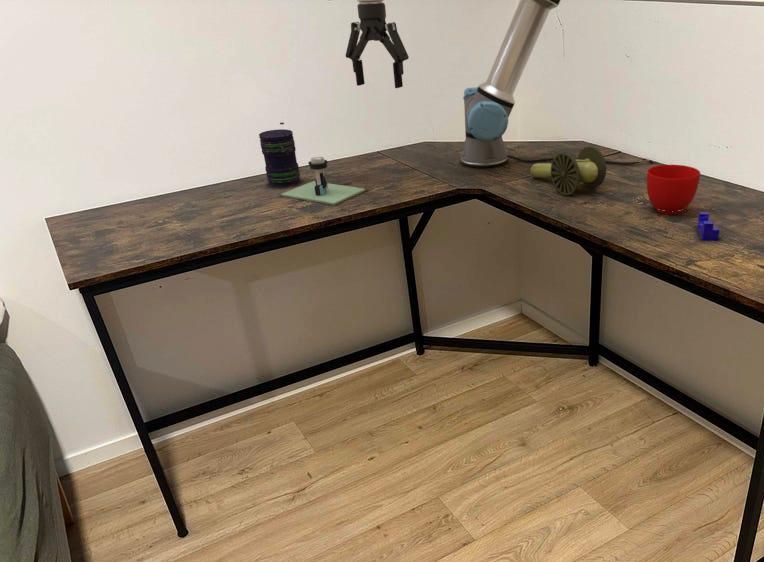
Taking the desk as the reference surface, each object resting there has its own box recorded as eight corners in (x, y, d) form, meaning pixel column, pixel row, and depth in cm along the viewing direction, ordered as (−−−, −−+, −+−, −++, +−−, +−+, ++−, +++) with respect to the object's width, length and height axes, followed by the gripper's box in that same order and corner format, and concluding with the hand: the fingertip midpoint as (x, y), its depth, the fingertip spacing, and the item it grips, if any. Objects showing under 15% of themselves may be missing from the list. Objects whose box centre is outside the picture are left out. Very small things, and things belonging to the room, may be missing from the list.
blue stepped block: (717, 240, 156) (720, 223, 154) (702, 240, 156) (704, 223, 154) (712, 228, 162) (714, 212, 160) (697, 228, 163) (699, 212, 161)
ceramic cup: (701, 200, 180) (706, 163, 175) (690, 221, 167) (695, 181, 162) (653, 195, 185) (656, 158, 180) (638, 215, 172) (641, 176, 167)
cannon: (519, 181, 200) (519, 142, 194) (549, 173, 206) (550, 135, 200) (578, 200, 183) (580, 158, 177) (609, 191, 189) (612, 150, 183)
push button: (319, 188, 198) (314, 154, 193) (336, 189, 197) (331, 154, 192) (310, 196, 193) (304, 160, 187) (328, 196, 192) (322, 161, 186)
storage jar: (261, 186, 204) (249, 125, 195) (281, 177, 212) (270, 118, 202) (288, 189, 201) (277, 127, 191) (307, 180, 208) (297, 119, 199)
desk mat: (365, 190, 197) (365, 188, 197) (334, 205, 187) (334, 203, 186) (313, 182, 206) (313, 180, 205) (281, 195, 195) (280, 193, 195)
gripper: (326, 3, 185) (337, 85, 196) (400, 3, 174) (407, 90, 185) (343, 1, 190) (353, 81, 201) (416, 1, 179) (422, 86, 190)
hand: (379, 86), depth 193 cm, fingers open, 13 cm apart
